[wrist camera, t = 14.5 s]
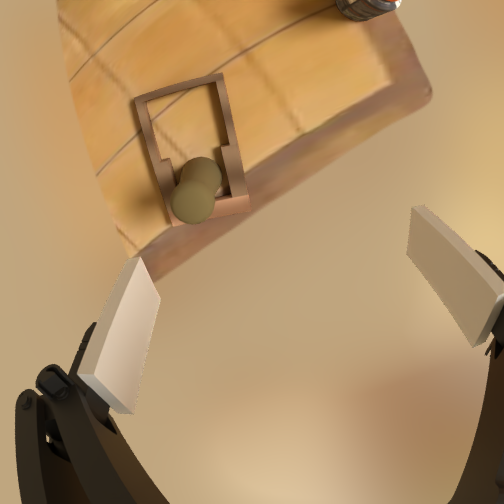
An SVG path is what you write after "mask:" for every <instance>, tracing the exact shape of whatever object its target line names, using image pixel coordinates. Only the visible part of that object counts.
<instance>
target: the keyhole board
mask: <svg viewBox="0 0 504 504" xmlns="http://www.w3.org/2000/svg"><path fill="white" fill-rule="evenodd" d="M212 82H216V84H217V89H218V93H219V98H220V102H221V107H222V111H223V116H224V120H225V125H226V129H227V134H228V138H229V144H224V145H221V150H222V155H223V159H224V163H225V168H226V172H227V176H228V181H229V185H230V189H231V193H232V194H230V195H225V196H220V197H216V198H215V206H214V210H213V212H212V214H211V216H210V217H209V218H207V219H211V218H216V217H221V216H226V215H231V214H236V213H241V212H246V211H251V204H250V199H249V194H248V189H247V185H246V180H245V175H244V170H243V166H242V161H241V156H240V151H239V147H238V142H237V137H236V133H235V128H234V123H233V119H232V114H231V109H230V105H229V100H228V95H227V91H226V86H225V82H224V77H223V73H218V74H213V75H209V76H205V77H200V78H196V79H193V80H189V81H185V82H181V83H178V84H174V85H171V86H168V87H164V88H161V89H158V90H155V91H152V92H149V93H146V94H143V95H140V96H137V97H135V98H134V101H135V104H136V108H137V112H138V116H139V119H140V123H141V127H142V130H143V134H144V137H145V141H146V144H147V148H148V151H149V154H150V158H151V161H152V164H153V168H154V171H155V174H156V177H157V180H158V184H159V187H160V190H161V193H162V196H163V199H164V202H165V205H166V208H167V211H168V214H169V217H170V220H171V222H172V225H173V226H178V225H182V224H186V223H184V222H182V221H180V220H178V219H177V218H176V217H175V216H174V214H173V212H172V211H171V207H170V197H171V194H172V192H173V190H174V189H175V187H176V186H177V185H178V184H177V181H176V177H175V174H174V171H173V167H172V164H171V160H170V158H167V159H164V160H162V159H161V156H160V152H159V149H158V146H157V142H156V138H155V135H154V131H153V128H152V124H151V120H150V116H149V113H148V109H147V105H146V101H148V100H151V99H154V98H157V97H161V96H164V95H167V94H170V93H174V92H177V91H181V90H185V89H188V88H192V87H196V86H200V85H204V84H208V83H212Z"/></svg>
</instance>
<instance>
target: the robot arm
mask: <svg viewBox="0 0 504 504" xmlns="http://www.w3.org/2000/svg"><path fill="white" fill-rule="evenodd" d="M407 255H408V256H409V258H410V259H411V260H412V261H413V263H414V264H415V265H416V267H417V268H418V269H419V270H420V272H421V273H422V274H423V276H424V277H425V278H426V280H427V281H428V282H429V284H430V285H431V286H432V288H433V289H434V290H435V292H436V293H437V295H438V296H439V297H440V299H441V300H442V302H443V303H444V305H445V306H446V307H447V309H448V310H449V312H450V313H451V315H452V316H453V318H454V319H455V321H456V322H457V324H458V325H459V327H460V329H461V330H462V332H463V333H464V335H465V336H466V338H467V340H468V341H469V343H470V344H471V346H472V348H474V347H476V346H478V345H480V344H482V343H484V342H486V340H487V338H488V336H489V334H490V332H492V334H493V335H494V338H493V340H492V342H491V344H490V345H489V347H488V349H487V350H486V353H485V355H486V356H487V354H488V353H489V351H490V350H491V355H490V365H489V372H488V379H487V385H486V391H485V396H484V401H483V406H482V411H481V415H480V419H479V423H478V427H477V431H476V434H475V438H474V441H473V445H472V448H471V451H470V454H469V457H468V460H467V463H466V466H465V469H464V471H463V474H462V476H461V479H460V482H459V484H458V486H457V489H456V491H455V493H454V495H453V497H452V499H451V500H450V502H449V503H448V504H504V274H503V273H502V272H501V271H500V270H498V268H497V267H496V266H495V265H494V264H493V263H492V262H491V260H490V259H489V258H488V257H486V256H485V255H484V254H482V253H480V252H479V251H477V250H475V251H474V250H473V249H472V248H471V247H470V246H469V245H468V244H467V243H466V242H465V241H464V240H463V239H462V238H461V237H460V236H459V235H458V234H456V233H455V232H454V231H453V230H452V229H451V228H450V227H449V226H448V225H447V224H445V223H444V222H443V221H442V220H441V219H440V218H439V217H437V216H436V215H435V214H434V213H433V212H432V211H430V210H429V209H428V208H427V207H426V206H424V205H421V206H415V207H412V208H411V220H410V230H409V239H408V247H407ZM160 301H161V299H160V297H159V295H158V293H157V291H156V289H155V287H154V284H153V282H152V280H151V278H150V276H149V274H148V272H147V270H146V267H145V265H144V263H143V261H142V259H141V257H136V258H131V259H127V260H126V263H125V264H124V266H123V268H122V270H121V272H120V274H119V276H118V278H117V280H116V283H115V285H114V287H113V289H112V291H111V293H110V295H109V297H108V299H107V301H106V304H105V306H104V308H103V310H102V312H101V315H100V317H99V319H98V322H93V323H92V325H91V326H90V327H89V328H88V329H87V331H86V332H85V335H84V337H83V339H82V343H81V344H80V346H79V351H77V354H76V356H75V359H74V361H73V364H72V366H71V369H70V371H69V374H68V375H67V374H66V373H65V372H64V371H63V370H62V369H61V368H60V366H58V365H56V364H51V365H48V366H47V367H45V368H44V369H43V370H42V371H41V372H40V373H39V375H38V376H37V380H36V388H37V389H38V390H39V391H40V392H41V393H42V394H43V395H41V396H39V395H38V394H37V393H36V392H35V391H34V390H32V389H27V390H25V391H23V392H22V393H21V394H20V395H19V397H18V399H17V402H16V409H15V444H16V462H17V473H18V482H19V489H20V496H21V501H22V504H170V503H169V502H168V501H167V499H166V498H165V497H164V496H163V495H162V493H161V492H160V491H159V489H158V488H157V487H156V485H155V484H154V483H153V481H152V480H151V478H150V477H149V476H148V474H147V473H146V471H145V470H144V468H143V467H142V465H141V464H140V463H139V461H138V460H137V458H136V456H135V455H134V453H133V452H132V450H131V449H130V447H129V445H128V444H127V442H126V440H125V439H124V437H123V436H122V434H121V432H120V430H119V429H118V427H117V425H116V423H115V421H114V420H113V418H112V417H111V415H110V414H109V413H108V412H109V408H110V407H111V408H112V409H114V410H115V411H116V412H117V413H120V414H134V412H135V406H136V402H137V397H138V392H139V387H140V383H141V378H142V373H143V369H144V364H145V360H146V356H147V352H148V347H149V343H150V339H151V335H152V331H153V327H154V323H155V320H156V316H157V312H158V308H159V305H160ZM46 435H47V436H48V437H49V443H48V442H47V441H46Z"/></svg>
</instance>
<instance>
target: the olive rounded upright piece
mask: <svg viewBox="0 0 504 504" xmlns="http://www.w3.org/2000/svg"><path fill="white" fill-rule="evenodd" d="M221 182H222V171H221V169H220V167H219V165H218V164H217V163H216V162H215V161H213V160H211V159H209V158H205V157H197V158H194V159H192V160H190V161H188V162H187V163H186V164H185V165H184V167H183V169H182V171H181V177H180V183H179V184H178V185H177V186H176V187H175V189H174V190H173V192H172V194H171V197H170V207H171V211H172V212H173V214H174V216H175V217H176V218H177V219H178V220H180V221H182V222H184V223H186V224H199V223H201V222H204V221H205V220H206V219H207V218H209V217H210V216H211V214H212V212H213V210H214V206H215V196H214V195H215V194H216V192H217V190H218V188H219V187H220V185H221Z"/></svg>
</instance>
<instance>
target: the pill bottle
mask: <svg viewBox="0 0 504 504" xmlns="http://www.w3.org/2000/svg"><path fill="white" fill-rule="evenodd" d="M400 4H401V0H336V5H337V7H338V9H339V10H340V11H341V13H342V14H344V15H345V16H346V17H348V18H349V19H352V20H354V21H367V20H369V19H371V18H374V17H376V16H379V15H382V14H384V13H387V12H389V11H392V10H395V9H396V8H398V6H399V5H400Z"/></svg>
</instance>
